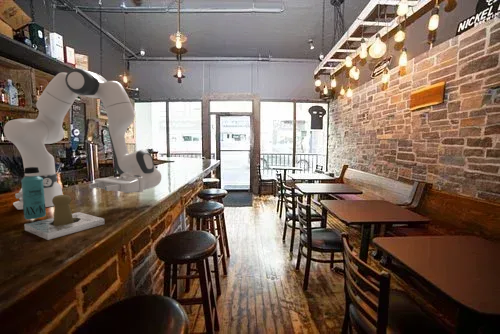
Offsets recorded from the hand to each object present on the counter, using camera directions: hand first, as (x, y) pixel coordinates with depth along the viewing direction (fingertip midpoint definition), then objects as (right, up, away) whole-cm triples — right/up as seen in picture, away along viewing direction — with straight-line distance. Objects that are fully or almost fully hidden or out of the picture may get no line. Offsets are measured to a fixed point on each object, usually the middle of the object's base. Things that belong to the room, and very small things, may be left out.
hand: (98, 187), depth 101 cm
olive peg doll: (-6, -13, -10) cm, 17 cm away
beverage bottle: (-21, -12, -3) cm, 25 cm away
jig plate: (-5, -13, -11) cm, 17 cm away
